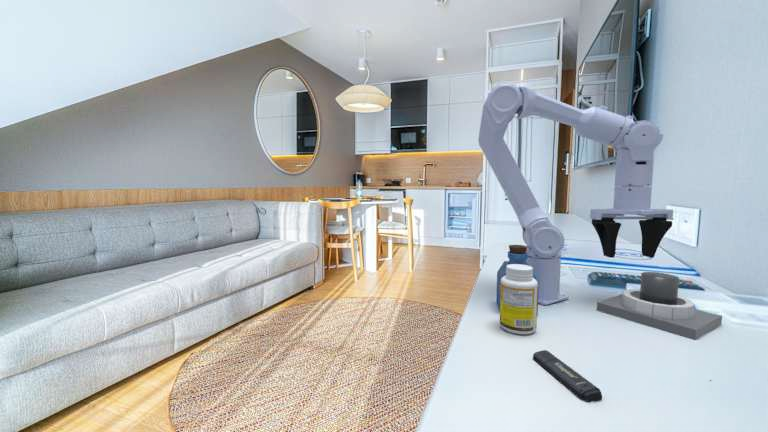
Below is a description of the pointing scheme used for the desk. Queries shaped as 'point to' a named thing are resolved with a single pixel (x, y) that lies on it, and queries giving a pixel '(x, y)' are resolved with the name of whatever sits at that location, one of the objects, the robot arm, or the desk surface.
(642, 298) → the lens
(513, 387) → the desk surface
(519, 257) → the perfume bottle
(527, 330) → the supplement bottle
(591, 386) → the usb stick
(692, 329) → the ring holder base
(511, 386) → the desk surface
